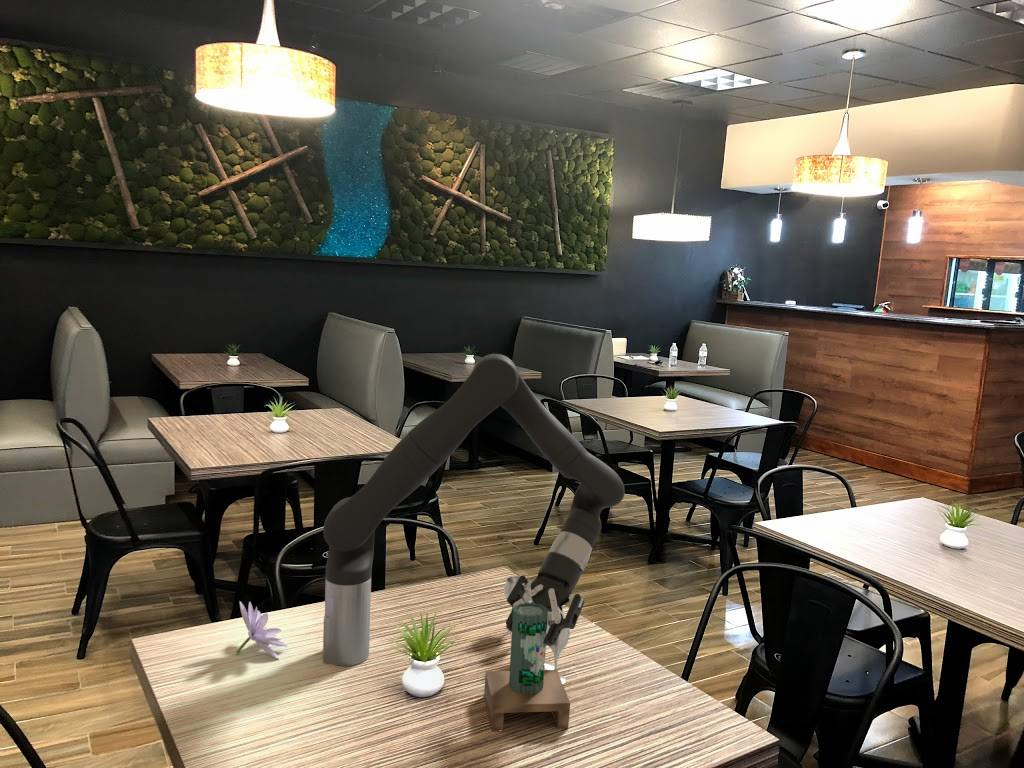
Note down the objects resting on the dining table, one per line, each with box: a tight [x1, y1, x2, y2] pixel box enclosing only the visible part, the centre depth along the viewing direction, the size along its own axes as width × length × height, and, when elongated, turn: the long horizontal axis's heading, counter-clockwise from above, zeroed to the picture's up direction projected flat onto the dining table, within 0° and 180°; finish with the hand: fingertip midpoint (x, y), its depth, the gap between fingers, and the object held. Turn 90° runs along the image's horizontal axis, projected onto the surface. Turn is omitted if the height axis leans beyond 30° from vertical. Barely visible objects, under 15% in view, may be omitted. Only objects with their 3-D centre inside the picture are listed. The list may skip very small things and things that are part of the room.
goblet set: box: [503, 575, 571, 685], centre depth 172 cm, size 28×6×13 cm, turn 21°
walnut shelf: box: [483, 669, 571, 732], centre depth 150 cm, size 14×12×5 cm
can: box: [509, 602, 548, 695], centre depth 148 cm, size 6×6×15 cm
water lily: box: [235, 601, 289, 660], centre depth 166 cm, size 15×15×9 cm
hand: (527, 637), depth 147 cm, fingers open, 8 cm apart
